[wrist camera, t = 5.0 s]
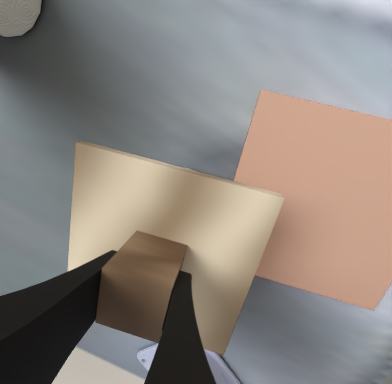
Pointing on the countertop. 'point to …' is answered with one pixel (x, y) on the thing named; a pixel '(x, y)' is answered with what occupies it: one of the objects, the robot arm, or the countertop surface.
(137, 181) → the lid
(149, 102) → the countertop surface
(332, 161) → the mat
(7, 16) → the paper towel roll
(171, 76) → the countertop surface
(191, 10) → the countertop surface
